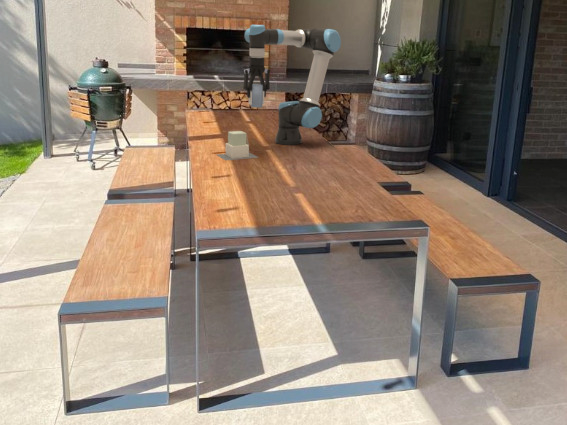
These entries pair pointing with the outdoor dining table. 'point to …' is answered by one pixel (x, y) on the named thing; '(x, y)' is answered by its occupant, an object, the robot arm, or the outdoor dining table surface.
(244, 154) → the tower base
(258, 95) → the grey rounded cylinder
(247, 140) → the beige rounded lump
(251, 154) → the mat
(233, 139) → the tower top
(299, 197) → the outdoor dining table surface
